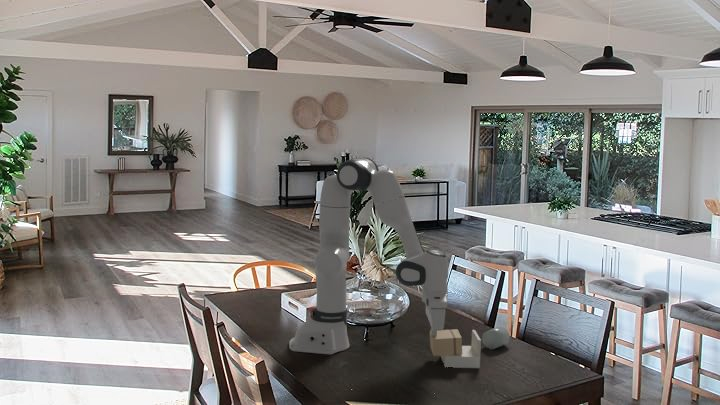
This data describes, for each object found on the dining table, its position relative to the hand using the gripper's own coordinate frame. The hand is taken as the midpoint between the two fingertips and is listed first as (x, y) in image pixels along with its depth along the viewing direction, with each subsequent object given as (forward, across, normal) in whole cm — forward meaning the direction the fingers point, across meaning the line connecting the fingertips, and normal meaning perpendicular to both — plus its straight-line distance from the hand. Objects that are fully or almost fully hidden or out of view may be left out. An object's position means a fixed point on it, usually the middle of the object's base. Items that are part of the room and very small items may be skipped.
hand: (433, 334), depth 230 cm
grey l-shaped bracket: (+10, 0, +9) cm, 14 cm away
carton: (+6, 0, +4) cm, 7 cm away
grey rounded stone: (+7, -14, +23) cm, 28 cm away
